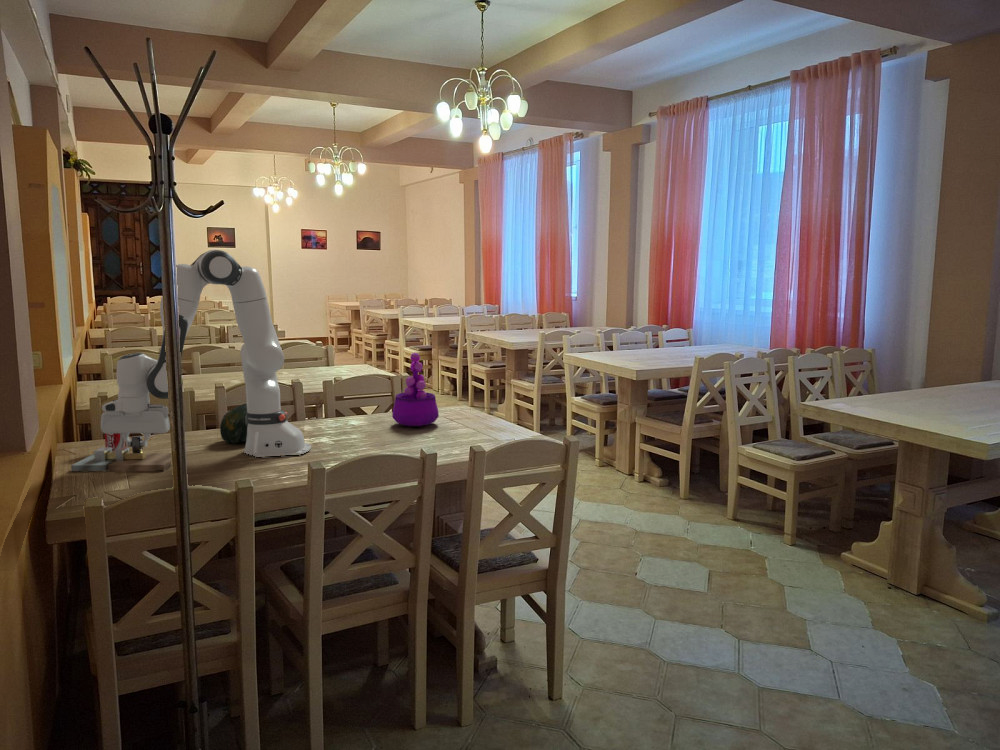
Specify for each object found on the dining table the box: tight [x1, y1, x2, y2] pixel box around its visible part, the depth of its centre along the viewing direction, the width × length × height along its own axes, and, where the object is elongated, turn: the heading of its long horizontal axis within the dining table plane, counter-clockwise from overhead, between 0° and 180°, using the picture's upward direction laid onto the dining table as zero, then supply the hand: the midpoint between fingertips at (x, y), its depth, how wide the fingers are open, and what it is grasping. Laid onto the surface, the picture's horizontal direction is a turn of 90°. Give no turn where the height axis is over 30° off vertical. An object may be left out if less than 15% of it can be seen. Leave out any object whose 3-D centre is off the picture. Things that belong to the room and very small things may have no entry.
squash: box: [219, 402, 247, 445], centre depth 259 cm, size 14×15×15 cm
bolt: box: [94, 435, 147, 459], centre depth 227 cm, size 15×3×7 cm, turn 94°
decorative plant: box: [391, 352, 440, 427], centre depth 288 cm, size 19×18×30 cm
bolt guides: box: [93, 446, 130, 461], centre depth 227 cm, size 8×5×3 cm, turn 94°
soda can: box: [104, 433, 127, 451], centre depth 243 cm, size 7×7×13 cm
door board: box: [70, 452, 172, 472], centre depth 228 cm, size 28×14×2 cm, turn 94°
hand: (137, 446), depth 227 cm, fingers closed on bolt, 3 cm apart
